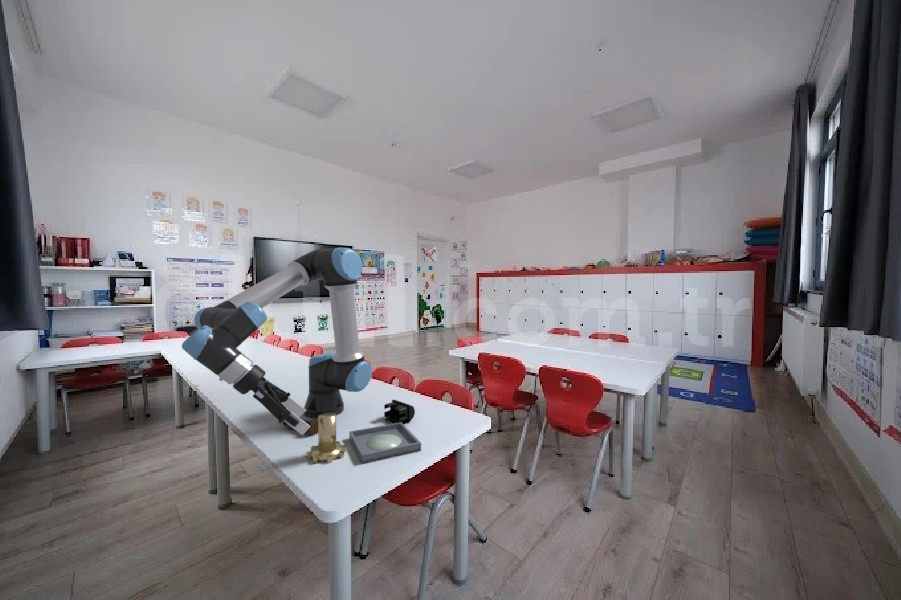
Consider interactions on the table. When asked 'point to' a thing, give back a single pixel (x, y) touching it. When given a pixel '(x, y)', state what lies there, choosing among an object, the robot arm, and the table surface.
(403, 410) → the end cap
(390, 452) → the carrier tray
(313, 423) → the bolt
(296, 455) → the table surface
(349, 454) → the table surface
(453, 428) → the table surface
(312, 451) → the toothed flange peg
